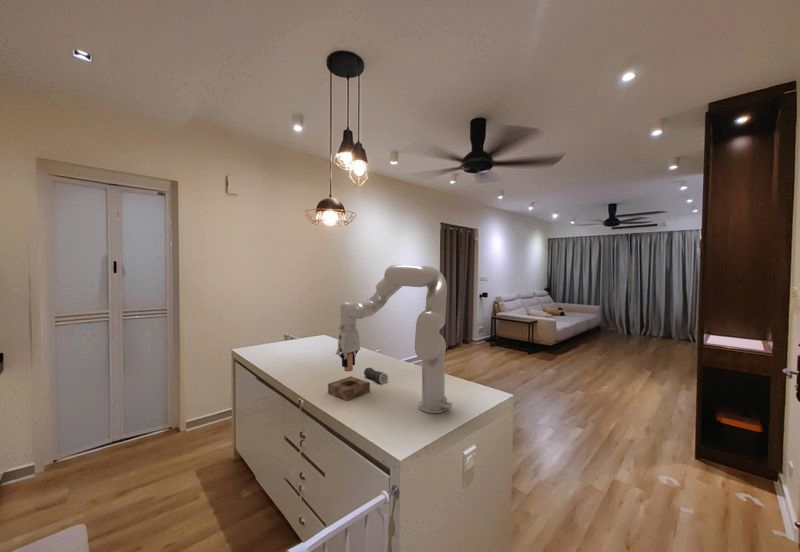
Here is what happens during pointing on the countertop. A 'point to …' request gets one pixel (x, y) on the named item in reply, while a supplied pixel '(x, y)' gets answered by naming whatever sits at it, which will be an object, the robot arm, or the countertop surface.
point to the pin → (349, 362)
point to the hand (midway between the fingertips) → (348, 365)
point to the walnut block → (348, 388)
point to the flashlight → (376, 375)
